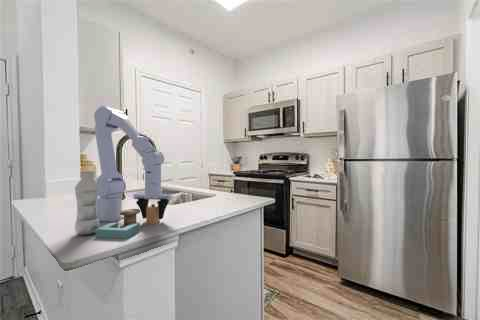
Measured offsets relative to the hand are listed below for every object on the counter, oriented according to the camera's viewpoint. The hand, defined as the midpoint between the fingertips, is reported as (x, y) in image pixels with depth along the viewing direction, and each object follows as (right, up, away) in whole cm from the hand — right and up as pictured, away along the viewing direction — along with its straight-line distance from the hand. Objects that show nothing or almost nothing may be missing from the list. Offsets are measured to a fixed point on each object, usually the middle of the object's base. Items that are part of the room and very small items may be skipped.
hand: (153, 218), depth 85 cm
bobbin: (-6, -1, -6) cm, 9 cm away
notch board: (-6, -2, -13) cm, 15 cm away
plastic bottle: (-16, -2, -13) cm, 21 cm away
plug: (0, -2, 0) cm, 2 cm away
